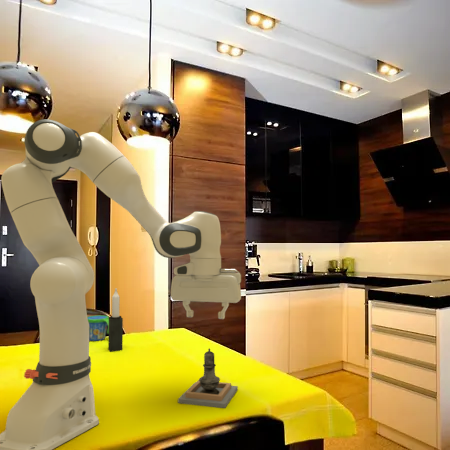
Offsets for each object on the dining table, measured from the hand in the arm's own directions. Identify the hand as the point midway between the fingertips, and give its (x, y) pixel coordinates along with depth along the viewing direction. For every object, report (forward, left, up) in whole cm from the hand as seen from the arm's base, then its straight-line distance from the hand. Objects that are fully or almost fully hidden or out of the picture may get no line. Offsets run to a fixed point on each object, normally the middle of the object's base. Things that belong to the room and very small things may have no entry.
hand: (205, 317), depth 105 cm
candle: (+37, +52, -22) cm, 67 cm away
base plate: (0, -1, -21) cm, 21 cm away
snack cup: (+50, +70, -22) cm, 89 cm away
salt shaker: (0, -1, -21) cm, 21 cm away
